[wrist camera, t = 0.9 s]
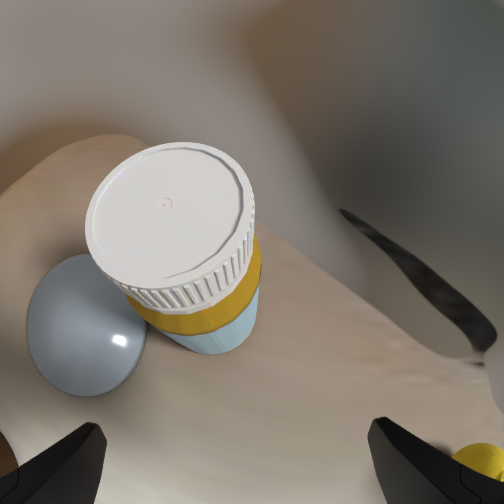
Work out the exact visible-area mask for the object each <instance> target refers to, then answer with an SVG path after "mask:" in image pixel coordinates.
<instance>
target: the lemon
mask: <svg viewBox="0 0 504 504" xmlns="http://www.w3.org/2000/svg"><path fill="white" fill-rule="evenodd" d="M451 458H453V459H455V460H456V461H458V462H459V463H462V464H464V465H465V466H467V467H469V468H471V469H473V470H475V471H477V472H479V473H481V474H484V475H486V476H488V477H491V478H494V479H496V480H499V481H502V482H503V480H504V451H503V450H502V449H501V448H499V447H497V446H495V445H492V444H488V443H477V444H472V445H469V446H466V447H464V448H462V449H461V450H459V451H458V452H456V453H455V454H454V455H453V456H452V457H451Z"/></svg>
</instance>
